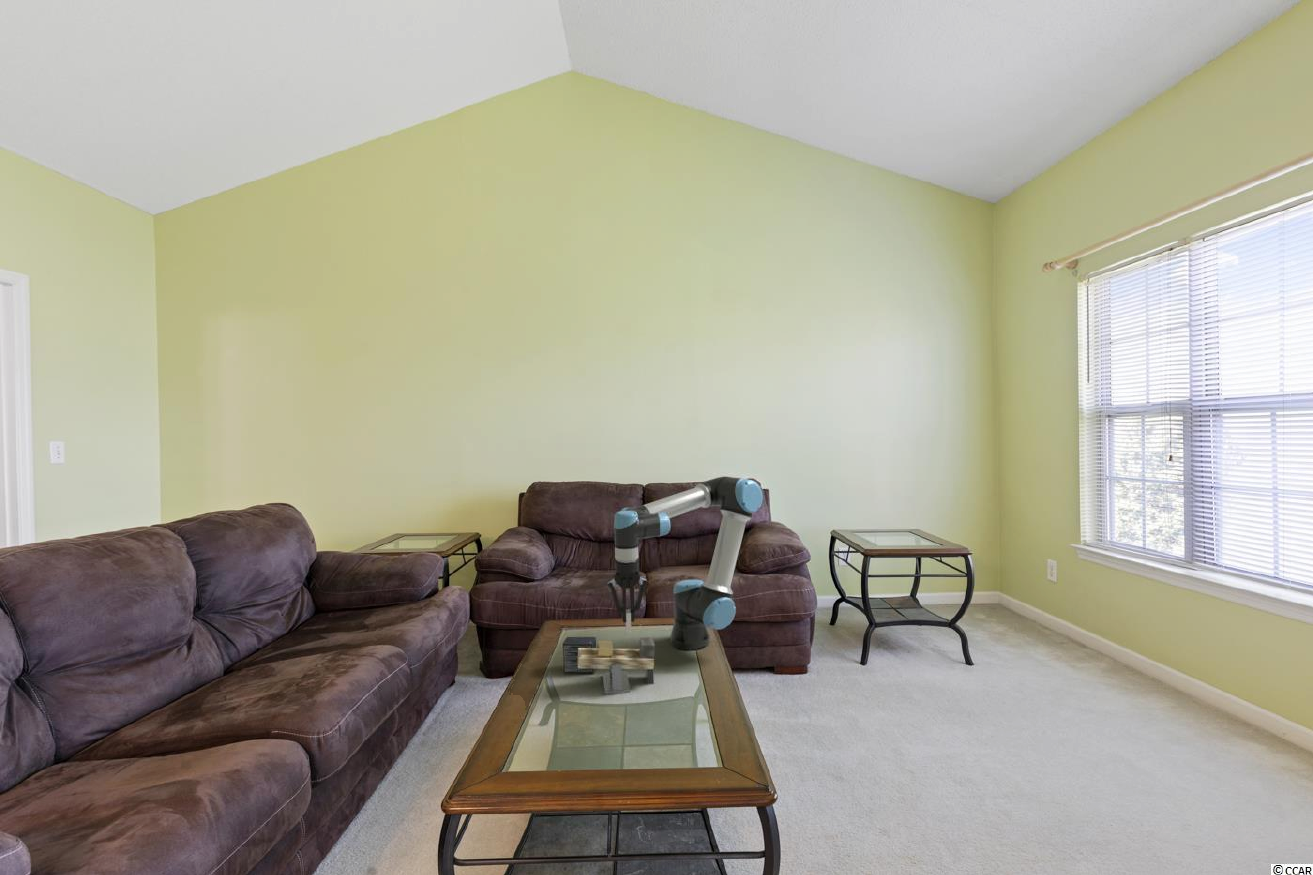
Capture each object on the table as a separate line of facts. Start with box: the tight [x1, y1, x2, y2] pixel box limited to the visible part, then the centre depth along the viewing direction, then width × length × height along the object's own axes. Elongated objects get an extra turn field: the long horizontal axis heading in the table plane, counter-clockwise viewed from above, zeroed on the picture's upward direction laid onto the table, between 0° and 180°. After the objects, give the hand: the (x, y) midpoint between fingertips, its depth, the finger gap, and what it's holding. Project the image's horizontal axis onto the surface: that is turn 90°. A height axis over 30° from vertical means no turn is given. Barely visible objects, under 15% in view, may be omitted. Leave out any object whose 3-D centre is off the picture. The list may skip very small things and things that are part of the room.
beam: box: [578, 637, 656, 670], centre depth 178 cm, size 24×9×7 cm, turn 99°
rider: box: [597, 640, 614, 658], centre depth 177 cm, size 4×4×5 cm
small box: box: [562, 636, 597, 675], centre depth 189 cm, size 11×6×10 cm, turn 84°
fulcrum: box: [601, 647, 655, 696], centre depth 179 cm, size 16×12×9 cm
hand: (628, 631), depth 178 cm, fingers closed
